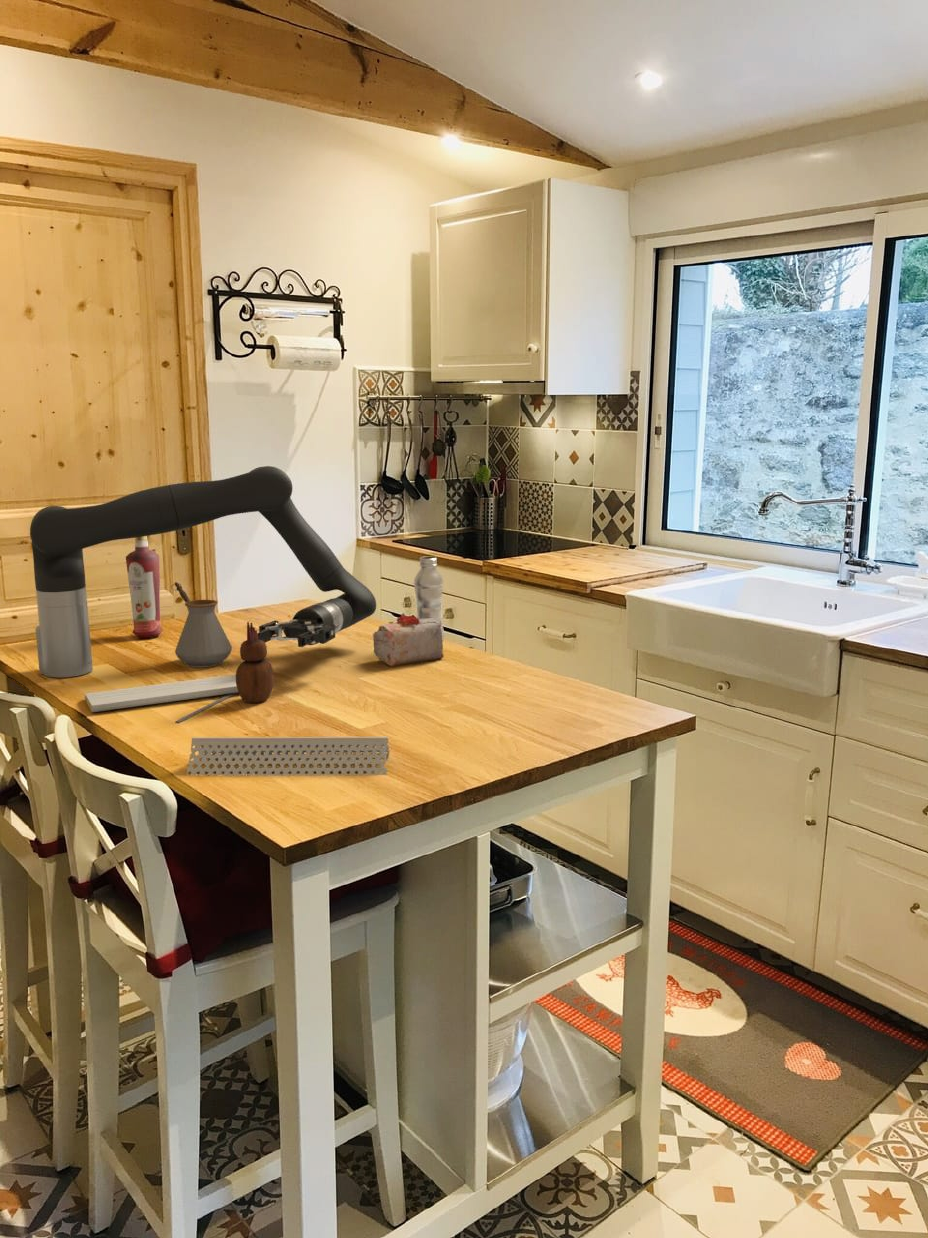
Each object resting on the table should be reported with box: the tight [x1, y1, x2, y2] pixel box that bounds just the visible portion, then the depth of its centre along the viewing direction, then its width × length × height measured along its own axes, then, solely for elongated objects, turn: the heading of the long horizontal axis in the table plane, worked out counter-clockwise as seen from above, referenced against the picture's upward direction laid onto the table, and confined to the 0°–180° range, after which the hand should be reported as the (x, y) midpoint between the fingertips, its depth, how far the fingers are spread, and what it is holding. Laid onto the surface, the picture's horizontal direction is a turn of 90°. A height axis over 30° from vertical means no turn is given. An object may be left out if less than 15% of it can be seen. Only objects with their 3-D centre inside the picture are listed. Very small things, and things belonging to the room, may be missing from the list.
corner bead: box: [186, 736, 391, 776], centre depth 148 cm, size 29×9×5 cm, turn 90°
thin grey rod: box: [175, 693, 238, 723], centre depth 177 cm, size 1×19×1 cm, turn 161°
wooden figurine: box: [235, 621, 275, 704], centre depth 180 cm, size 7×6×15 cm
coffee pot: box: [170, 581, 233, 668], centre depth 211 cm, size 21×12×15 cm, turn 34°
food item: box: [372, 613, 445, 667], centre depth 208 cm, size 14×8×10 cm, turn 122°
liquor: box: [125, 536, 164, 640], centre depth 229 cm, size 7×7×28 cm
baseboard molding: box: [84, 673, 239, 713], centre depth 185 cm, size 31×3×12 cm
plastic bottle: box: [413, 555, 445, 642], centre depth 219 cm, size 6×7×20 cm
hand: (279, 640), depth 188 cm, fingers open, 8 cm apart
